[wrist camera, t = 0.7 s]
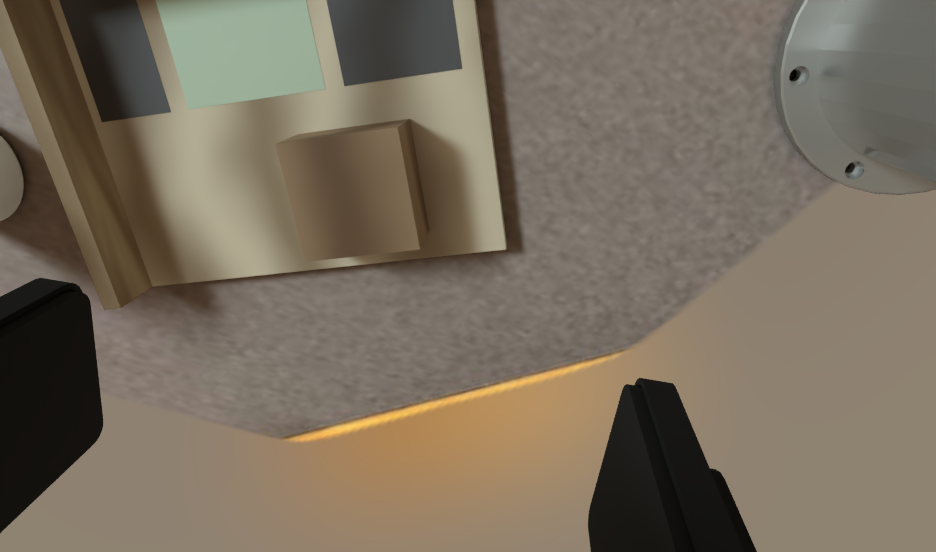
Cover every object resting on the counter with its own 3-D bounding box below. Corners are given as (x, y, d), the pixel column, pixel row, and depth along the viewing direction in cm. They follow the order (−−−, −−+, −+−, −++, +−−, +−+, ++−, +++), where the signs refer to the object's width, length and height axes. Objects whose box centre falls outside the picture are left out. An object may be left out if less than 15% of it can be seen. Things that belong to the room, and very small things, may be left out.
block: (409, 118, 31) (397, 127, 28) (429, 231, 33) (419, 249, 30) (297, 134, 32) (275, 144, 29) (324, 243, 34) (305, 261, 31)
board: (461, -108, 28) (451, -129, 24) (507, 243, 34) (503, 269, 30) (35, -27, 31) (-32, -34, 27) (146, 281, 37) (104, 309, 33)
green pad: (298, -43, 29) (296, -44, 29) (327, 88, 31) (325, 89, 31) (153, -17, 30) (150, -17, 30) (191, 108, 32) (188, 109, 32)
